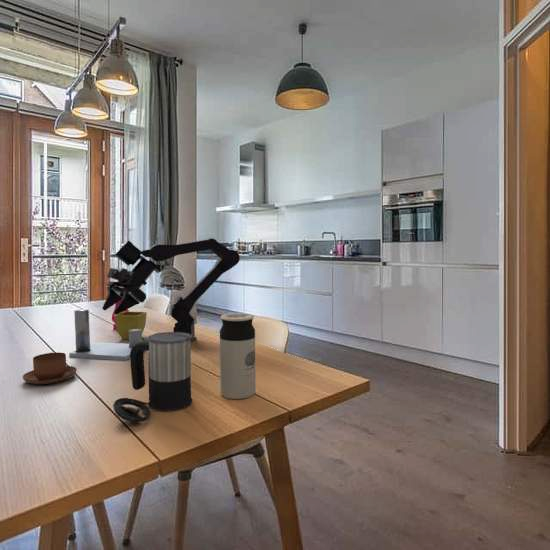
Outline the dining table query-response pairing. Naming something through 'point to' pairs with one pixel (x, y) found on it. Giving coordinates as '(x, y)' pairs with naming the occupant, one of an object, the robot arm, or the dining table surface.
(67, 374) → the cup and saucer
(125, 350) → the flange plate
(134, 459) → the dining table surface
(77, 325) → the grey metallic rounded cylinder
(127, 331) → the flower pot
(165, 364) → the milk frother
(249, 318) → the travel mug
